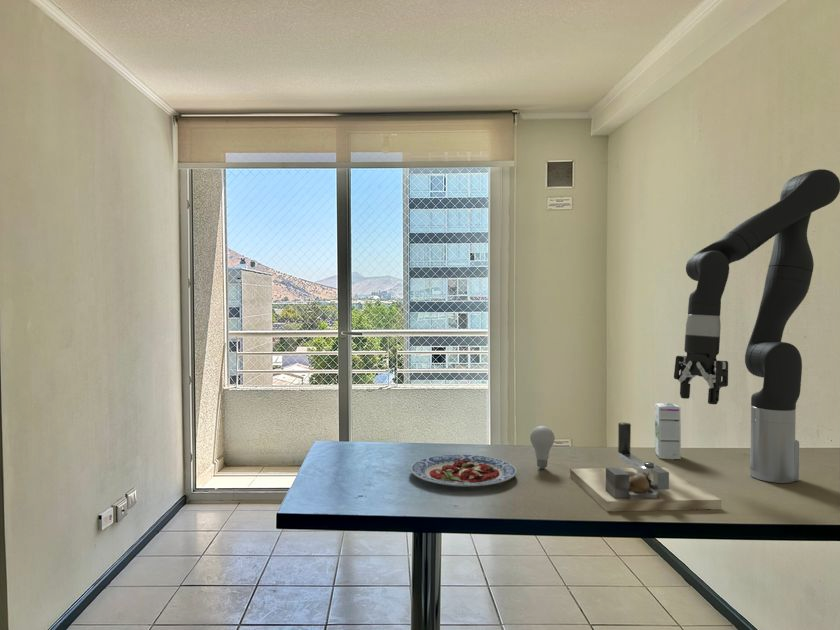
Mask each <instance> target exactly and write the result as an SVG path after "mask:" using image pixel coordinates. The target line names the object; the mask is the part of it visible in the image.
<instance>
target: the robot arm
mask: <svg viewBox="0 0 840 630" xmlns="http://www.w3.org/2000/svg"><path fill="white" fill-rule="evenodd" d="M839 194H840V179H839V176H837V174H836V173H834V172H833V171H831V170H828V169H824V168H823V169H821V168H820V169H812V170H809V171H807V172H804V173H801V174H799V175H795V176H793V177H791V178H790V179H789V180H787V181H786V182H785V184H784V185H783V187H782V189H781V192H780V198H779V201H777V202H776V203H774V204H772V205H771V206H768V208H765V209H764V210H762V211H760V212H758V213H756V214H754V215H753V216H751V217H749V218H748V219H746V220H744V221H743V222H741V223H740V224H738V225H737V226H735V227H734V228H733V229H731V230H730V231H729V232H727V233H726V234H725V235H724V236H722V237H721V238H720V239H718V240H716V241H714V242H712V243H710V244H709V245H707V246H705V247H703V248H702V249H700V250H698V251H697V252H696V253H693V255H692V256H690V258H689V259H688V260H687V262H686V266H685V271H686V272H685V273H686V275H687V277H689V278H690V279H691V280H693V281H696V282H697V284H696V288H695V290H693V291H692V292H691V293H689V297H688V305H687V306H688V307H687V319H686V324H685V334H684V350H683V351H684V352H685V353H686V355H676V356H675V360H674V361H675V363H674V372H673V379H674V380H677V381H678V382H679V383H680V386H679V395H680V398H681V399H688V400H689V399H690V398H691V397H690V395H691V381H692V380H693V378H696V377H697V376H698V377H701V378H703V379H704V380H705V381H706V383H707V385H708V386H709V388H708V393H707V394H708V396H707V404H709V405H718V403H719V401H720V390H721V388H724V387H725V388H726V387H728V386H729V362H728V361H727V360H717V356H718V355H719V354H720V341H721V325H722V324H721V308H722V307H721V305H722V297H723V294H724V292H725V289H726V287H727V286H726V285H727V283H728V278H729V274H730V264H732V263H734V262H738V261H740V260H743V259H745V258H746V257H748V256H749V255H750V254H752V253H753V252H755V251H756V250H757V249H758V248H759V247H761V246H762V245H764V244H765V243H767V242H768V241H769V240H772V238H774V241H773V246H772V252H771V256H770V259H769V264H768V267H767V272H766V277H765V282H764V286H763V287H764V288H763V292H762V297H761V300H760V303H759V309H758V313H757V315H756V320H755V323H754V327H753V330H752V331H751V334H750V338H749V341H748V344H747V347H746V349H745V354H744V363H745V367H746V369H747V371H748V372H749V373H750V374H751V375H753V376H755V377H757V378H758V377H759V378H763V384H762V388H761V390H760V391H756V392H754V393H753V394H752V395H751V399H750V452H749V453H750V456H749V458H750V459H749V461H750V462H749V468H750V469H749V474H750V476H751V477H753V478H755V479H757V480H761V481H764V482H770V483H777V484H778V483H779V484H790V483H793V482H799V481H800V441H799V440H797V439H796V423H797V422H796V419H797V418H796V411H797V403H798V400H799V398H800V394H801V387H802V386H801V385H802V373H803V360H802V359H803V358H802V355H801V352H800V350H799V349H798V348H797V346H795V345H794V344H792V343H790V342H789V343H788V342H784V341H782V339H783V335H784V331H785V328H786V325H787V323H788V321H789V319H790V318H791V317H792V315H793V314H794V313H795V311H796V310H797V309H798V307H799V306H800V305H801V303H802V302H803V301H804V299H805V298H806V296H807V294H808V293H809V289H810V285H811V283H812V282H811V281H812V277H813V272H814V265H815V263H814V258H813V252H812V250H811V247H810V244H809V240H808V227H809V224H810V219H811V216H812V213H814V212H815V211H818V210H820V209H822V208H824V207H826V206H828V205H830V204H832V203H833V202H834V201H835V200H836V199H837V197H838V196H839Z"/></svg>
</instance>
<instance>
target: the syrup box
mask: <svg viewBox="0 0 840 630" xmlns="http://www.w3.org/2000/svg"><path fill="white" fill-rule="evenodd" d="M681 422H682V421H681V407H680V406H679V405H677V404H676V403H671V402H659V403H658V402H656V403H655V404H654V453H655V455H656V456H657V458H659V459H662V460H674V459H680V460H682V458H681V456H682V454H681V453H682V452H681V450H682V449H681V447H682V445H681V444H682V442H681V441H682V438H681V437H682V435H681V434H682V432H681V427H682V426H681Z"/></svg>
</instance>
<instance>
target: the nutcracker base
mask: <svg viewBox="0 0 840 630" xmlns="http://www.w3.org/2000/svg"><path fill="white" fill-rule="evenodd" d="M661 468H662V469H664V470H666V471H667V472H669V490H657V489H656V488H654V487H653V486H651V480H650V479H647V480H648V482H649V490H648V491H647V492H646V493H633V492H632V491H631V489H630V487H629V481H630V479H631V478H632V477H633V476H635V475H637V470H635V469H634V468H632V467H601V468H600V467H597V468H596V467H595V468H593V467H592V468H591V467H589V468H570V469H569V470H570V471H569V478H571V479H572V480H573V481H574V482H575V483H576V484H577V485H578V486H579V487H580V488H581V489H582V490H583V491H584V492H585V493H586V494H587V495H589V496H590V497H591V498H592V499H593V500H594V501H595V502H596V503H597V504H598V505H600V507H601V508H603V509H604V510H605V512H637V511H638V512H639V511H640V512H643V511H644V512H645V511H647V512H648V511H652V512H653V511H695V510H696V509H711V510H722V499H721V498H720V497H718V496H716V495H714V494H713V493H711V492H709V491H708V490H705V489H704V488H702V487H700V486H699V485H697V484H696V483H693V482H692V481H690V480H689V479H687V478H685V477H684V476H682V475H680V474H678V473H677V472H675V471H672V469H669V468H668V467H661ZM690 509H692V510H690Z"/></svg>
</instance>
